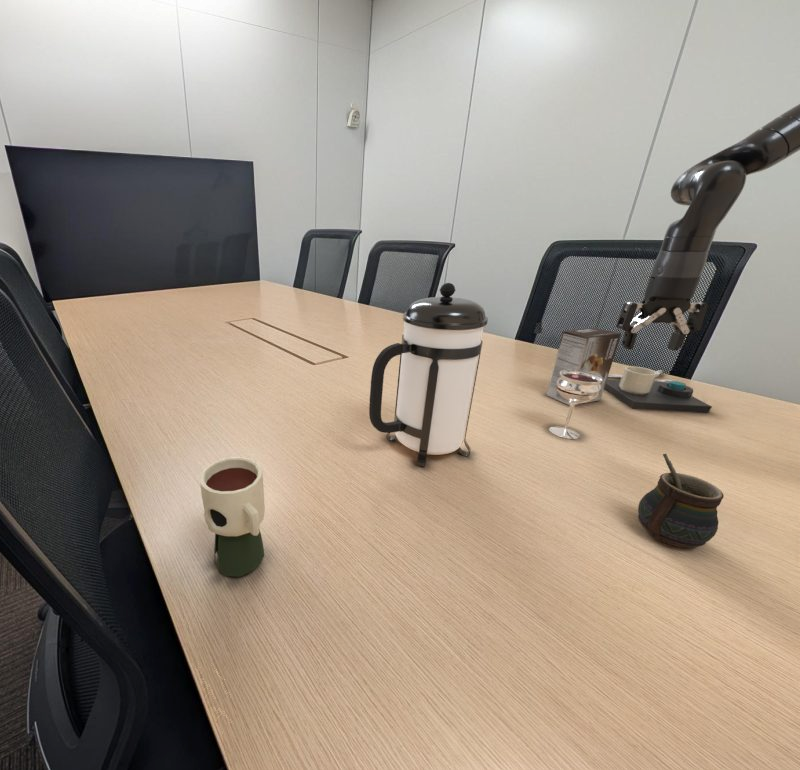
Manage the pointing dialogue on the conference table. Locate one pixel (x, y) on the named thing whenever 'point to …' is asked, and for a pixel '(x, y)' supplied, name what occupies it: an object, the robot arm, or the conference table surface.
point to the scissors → (654, 381)
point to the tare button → (677, 385)
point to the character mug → (234, 512)
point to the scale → (659, 398)
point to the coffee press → (432, 374)
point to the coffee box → (584, 356)
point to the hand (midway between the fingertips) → (649, 349)
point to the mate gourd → (681, 509)
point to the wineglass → (576, 395)
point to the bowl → (637, 380)
